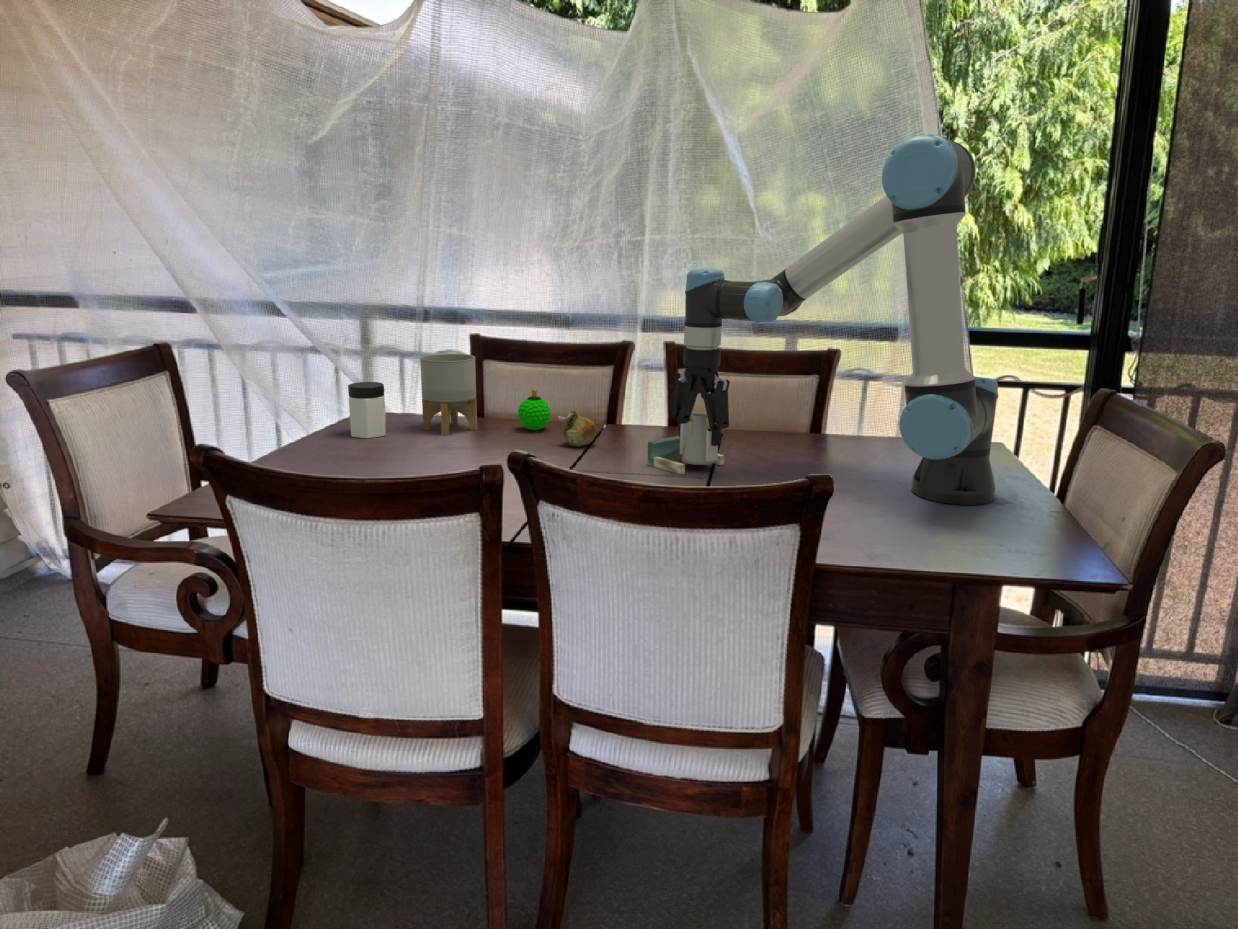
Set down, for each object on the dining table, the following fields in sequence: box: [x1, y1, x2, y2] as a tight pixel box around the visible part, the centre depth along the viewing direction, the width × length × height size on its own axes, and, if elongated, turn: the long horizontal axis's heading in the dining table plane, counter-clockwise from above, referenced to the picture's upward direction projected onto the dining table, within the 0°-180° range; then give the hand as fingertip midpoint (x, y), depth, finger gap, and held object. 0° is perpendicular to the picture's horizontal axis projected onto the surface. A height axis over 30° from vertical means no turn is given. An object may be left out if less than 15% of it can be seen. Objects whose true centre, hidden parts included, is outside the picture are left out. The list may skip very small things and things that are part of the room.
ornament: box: [517, 389, 552, 431], centre depth 219 cm, size 8×8×10 cm
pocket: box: [647, 435, 725, 475], centre depth 190 cm, size 10×13×5 cm
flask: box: [681, 412, 715, 466], centre depth 187 cm, size 7×7×10 cm
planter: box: [419, 352, 478, 437], centre depth 217 cm, size 13×13×18 cm
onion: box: [557, 410, 597, 448], centre depth 205 cm, size 8×8×8 cm
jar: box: [347, 381, 387, 439], centre depth 212 cm, size 9×8×12 cm
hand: (698, 456), depth 188 cm, fingers closed on flask, 7 cm apart
